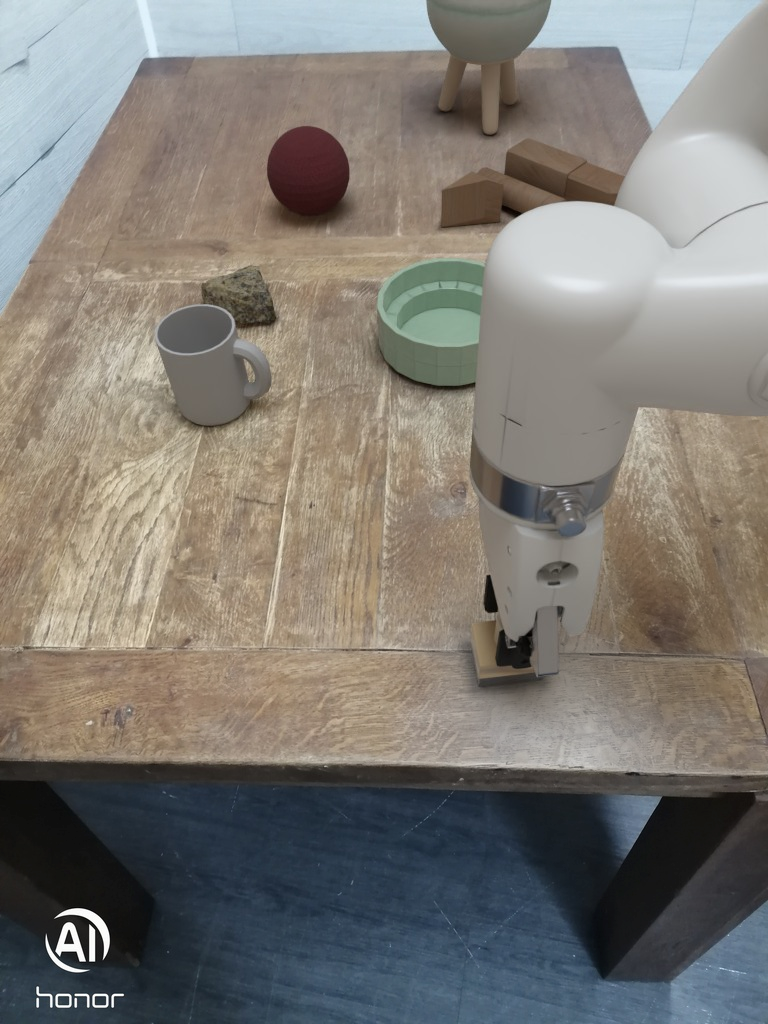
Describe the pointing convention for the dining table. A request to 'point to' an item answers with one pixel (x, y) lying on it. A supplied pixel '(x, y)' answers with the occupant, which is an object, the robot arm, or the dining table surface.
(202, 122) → the dining table surface
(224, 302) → the rock
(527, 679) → the wooden stamp
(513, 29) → the planter
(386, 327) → the bowl
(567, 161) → the wooden block set
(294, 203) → the decorative ball
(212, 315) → the cup
